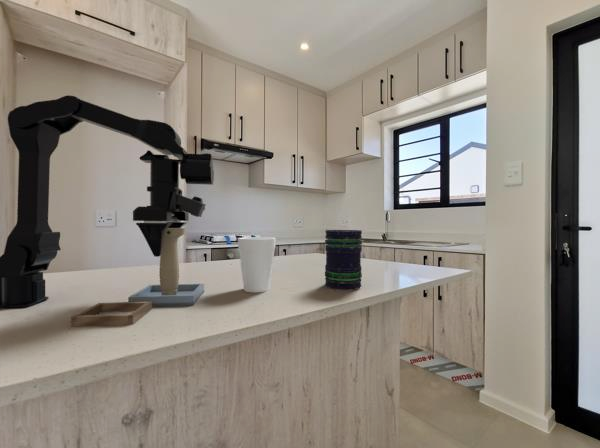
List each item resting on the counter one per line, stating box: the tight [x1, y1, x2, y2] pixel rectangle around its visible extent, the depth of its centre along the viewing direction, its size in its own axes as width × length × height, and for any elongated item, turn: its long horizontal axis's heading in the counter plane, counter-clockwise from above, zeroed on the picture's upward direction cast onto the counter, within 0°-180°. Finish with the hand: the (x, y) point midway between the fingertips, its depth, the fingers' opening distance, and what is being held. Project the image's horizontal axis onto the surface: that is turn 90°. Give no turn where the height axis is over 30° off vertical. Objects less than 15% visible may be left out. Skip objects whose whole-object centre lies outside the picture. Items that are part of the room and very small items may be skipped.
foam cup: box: [237, 236, 277, 293], centre depth 76 cm, size 10×9×13 cm
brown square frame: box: [70, 301, 153, 327], centre depth 54 cm, size 10×9×2 cm
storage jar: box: [324, 229, 363, 291], centre depth 81 cm, size 10×10×15 cm
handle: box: [159, 227, 186, 295], centre depth 67 cm, size 5×6×15 cm
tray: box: [127, 283, 205, 307], centre depth 67 cm, size 13×12×2 cm
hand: (164, 254), depth 67 cm, fingers open, 9 cm apart
